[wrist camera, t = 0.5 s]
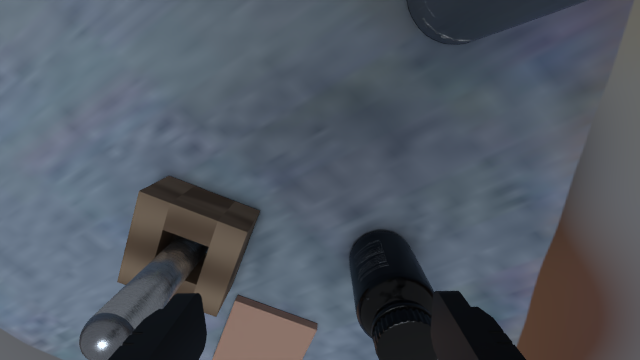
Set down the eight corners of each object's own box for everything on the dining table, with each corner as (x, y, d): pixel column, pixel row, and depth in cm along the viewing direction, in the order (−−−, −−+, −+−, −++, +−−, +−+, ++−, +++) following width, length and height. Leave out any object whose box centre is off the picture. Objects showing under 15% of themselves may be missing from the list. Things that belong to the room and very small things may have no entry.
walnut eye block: (169, 175, 31) (138, 191, 26) (260, 211, 31) (247, 232, 27) (147, 254, 33) (117, 281, 29) (232, 285, 34) (216, 316, 29)
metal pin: (192, 215, 32) (69, 325, 17) (220, 226, 32) (124, 343, 17) (184, 240, 33) (61, 365, 18) (212, 250, 33) (113, 382, 18)
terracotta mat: (237, 294, 34) (235, 300, 33) (317, 323, 35) (316, 330, 34) (213, 356, 37) (210, 363, 36) (288, 382, 38) (286, 389, 37)
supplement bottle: (350, 285, 34) (360, 385, 22) (347, 230, 32) (357, 309, 20) (411, 282, 33) (454, 383, 22) (412, 227, 31) (460, 306, 20)
